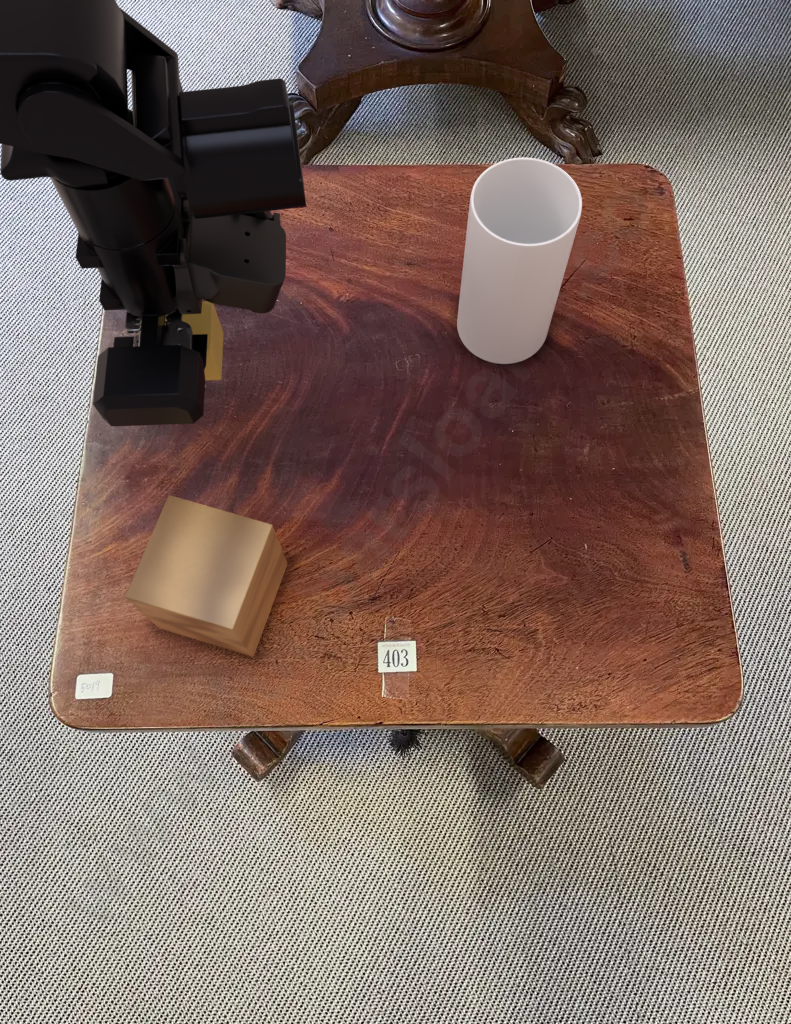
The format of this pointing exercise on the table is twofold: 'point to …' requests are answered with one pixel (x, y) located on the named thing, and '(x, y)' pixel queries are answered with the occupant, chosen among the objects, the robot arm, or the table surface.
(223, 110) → the robot arm
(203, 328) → the cheese
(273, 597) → the stand
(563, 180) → the cup
